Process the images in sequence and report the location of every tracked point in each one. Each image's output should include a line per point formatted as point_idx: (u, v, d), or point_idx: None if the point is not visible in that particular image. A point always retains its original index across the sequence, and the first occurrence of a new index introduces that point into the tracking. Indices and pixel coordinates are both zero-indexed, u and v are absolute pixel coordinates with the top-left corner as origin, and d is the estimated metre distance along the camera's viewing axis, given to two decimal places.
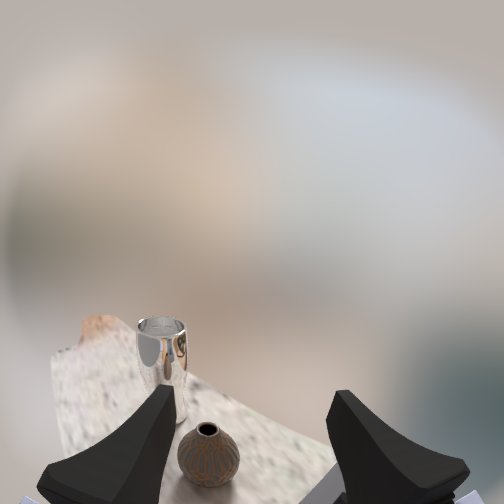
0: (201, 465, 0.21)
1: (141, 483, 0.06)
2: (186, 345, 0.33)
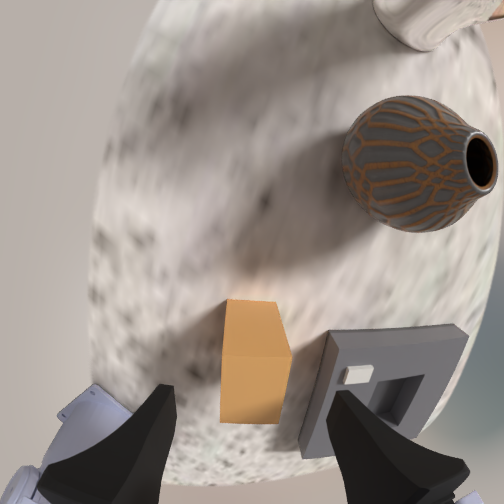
0: (389, 192, 0.10)
1: (141, 483, 0.06)
2: None
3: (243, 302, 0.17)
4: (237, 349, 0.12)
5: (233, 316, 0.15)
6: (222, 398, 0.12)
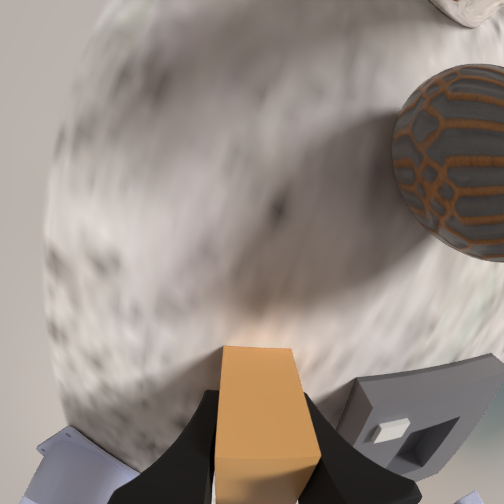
0: (487, 206, 0.05)
1: (208, 494, 0.06)
2: None
3: (246, 351, 0.12)
4: (238, 446, 0.07)
5: (232, 380, 0.10)
6: (218, 493, 0.07)
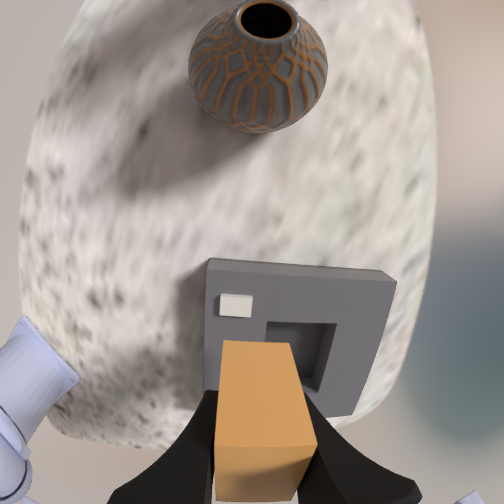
0: (200, 82, 0.10)
1: (208, 494, 0.06)
2: None
3: (245, 345, 0.12)
4: (237, 434, 0.07)
5: (232, 372, 0.10)
6: (217, 483, 0.07)
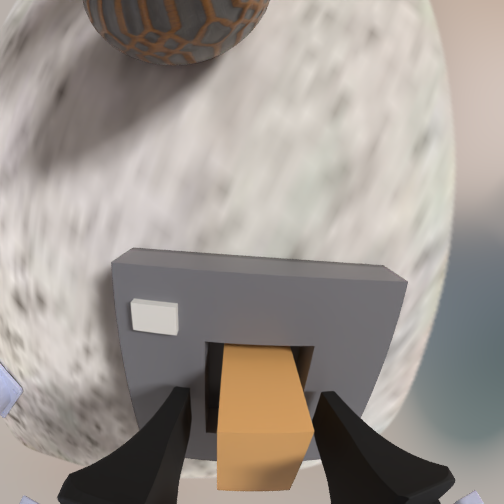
0: None
1: (163, 488, 0.06)
2: None
3: None
4: (238, 422, 0.08)
5: (233, 364, 0.11)
6: (219, 471, 0.08)
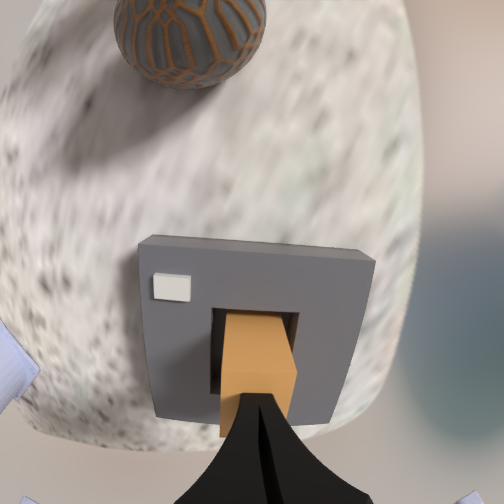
0: (118, 35, 0.07)
1: None
2: None
3: (244, 310, 0.16)
4: (238, 363, 0.11)
5: (234, 326, 0.14)
6: (222, 413, 0.11)
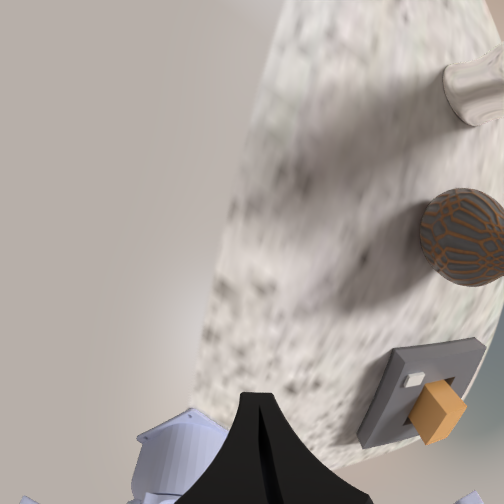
0: (459, 267, 0.14)
1: None
2: None
3: None
4: (449, 409, 0.17)
5: (432, 390, 0.20)
6: (435, 433, 0.17)
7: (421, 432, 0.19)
